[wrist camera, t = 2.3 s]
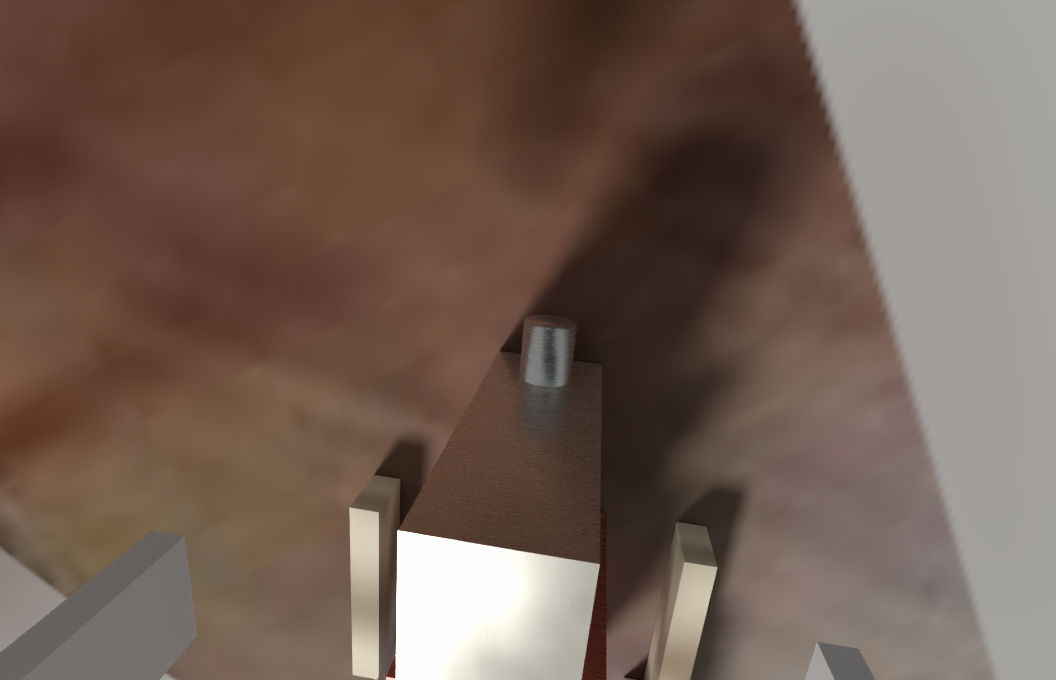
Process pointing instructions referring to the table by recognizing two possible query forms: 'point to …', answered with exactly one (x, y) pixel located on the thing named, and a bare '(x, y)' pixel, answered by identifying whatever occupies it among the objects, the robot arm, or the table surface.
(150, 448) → the table surface
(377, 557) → the lane rails
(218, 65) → the table surface
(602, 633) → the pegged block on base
